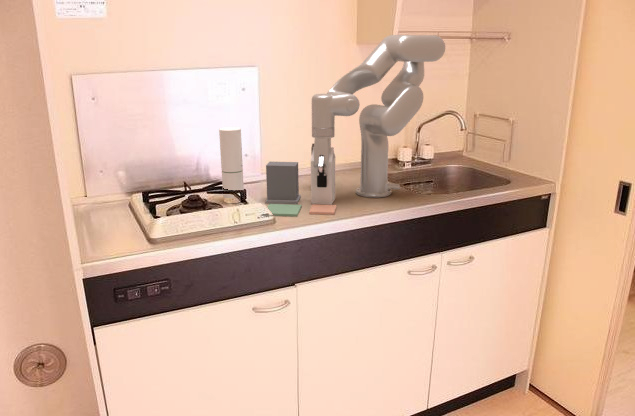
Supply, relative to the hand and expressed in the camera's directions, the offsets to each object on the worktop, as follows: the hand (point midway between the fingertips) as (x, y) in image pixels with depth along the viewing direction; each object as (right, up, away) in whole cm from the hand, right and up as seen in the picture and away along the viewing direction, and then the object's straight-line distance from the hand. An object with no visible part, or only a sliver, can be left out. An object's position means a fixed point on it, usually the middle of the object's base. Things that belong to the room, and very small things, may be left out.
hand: (323, 183), depth 182 cm
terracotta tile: (0, -9, -8) cm, 12 cm away
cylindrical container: (-31, -6, +4) cm, 32 cm away
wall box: (-14, -6, +4) cm, 15 cm away
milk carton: (0, -6, +2) cm, 7 cm away
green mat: (-13, -9, -8) cm, 18 cm away
